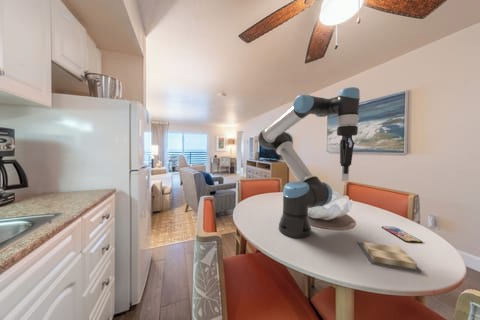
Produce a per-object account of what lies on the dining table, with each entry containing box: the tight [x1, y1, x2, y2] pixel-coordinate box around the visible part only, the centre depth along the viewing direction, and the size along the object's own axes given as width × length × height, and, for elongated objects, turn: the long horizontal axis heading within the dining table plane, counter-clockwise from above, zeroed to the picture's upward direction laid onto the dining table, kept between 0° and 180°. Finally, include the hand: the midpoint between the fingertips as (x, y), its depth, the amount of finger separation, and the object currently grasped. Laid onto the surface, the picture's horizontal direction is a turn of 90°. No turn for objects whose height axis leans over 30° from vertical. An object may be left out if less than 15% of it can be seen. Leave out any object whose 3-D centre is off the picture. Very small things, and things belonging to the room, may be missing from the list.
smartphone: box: [381, 226, 423, 244], centre depth 84 cm, size 7×1×15 cm
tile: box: [363, 241, 418, 269], centre depth 65 cm, size 12×2×10 cm
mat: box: [357, 241, 422, 273], centre depth 67 cm, size 14×14×1 cm
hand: (344, 180), depth 77 cm, fingers closed
